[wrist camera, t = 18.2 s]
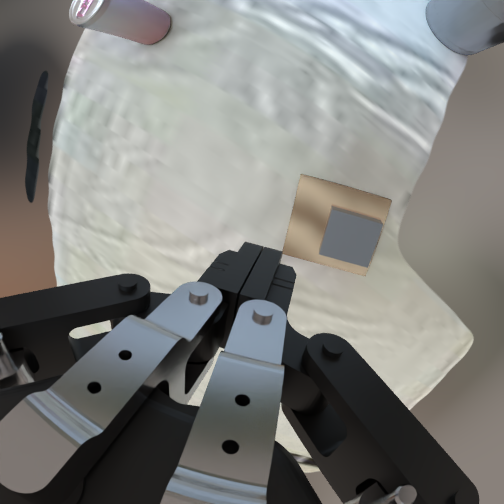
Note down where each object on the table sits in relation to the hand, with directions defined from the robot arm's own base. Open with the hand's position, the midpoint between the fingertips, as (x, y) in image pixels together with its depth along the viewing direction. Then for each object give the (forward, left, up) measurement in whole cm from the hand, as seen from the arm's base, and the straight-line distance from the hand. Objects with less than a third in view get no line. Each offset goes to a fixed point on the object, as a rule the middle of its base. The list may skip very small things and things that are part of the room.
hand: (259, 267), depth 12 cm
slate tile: (+6, +4, -25) cm, 26 cm away
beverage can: (-18, -25, -27) cm, 41 cm away
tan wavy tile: (+6, +5, -27) cm, 28 cm away
